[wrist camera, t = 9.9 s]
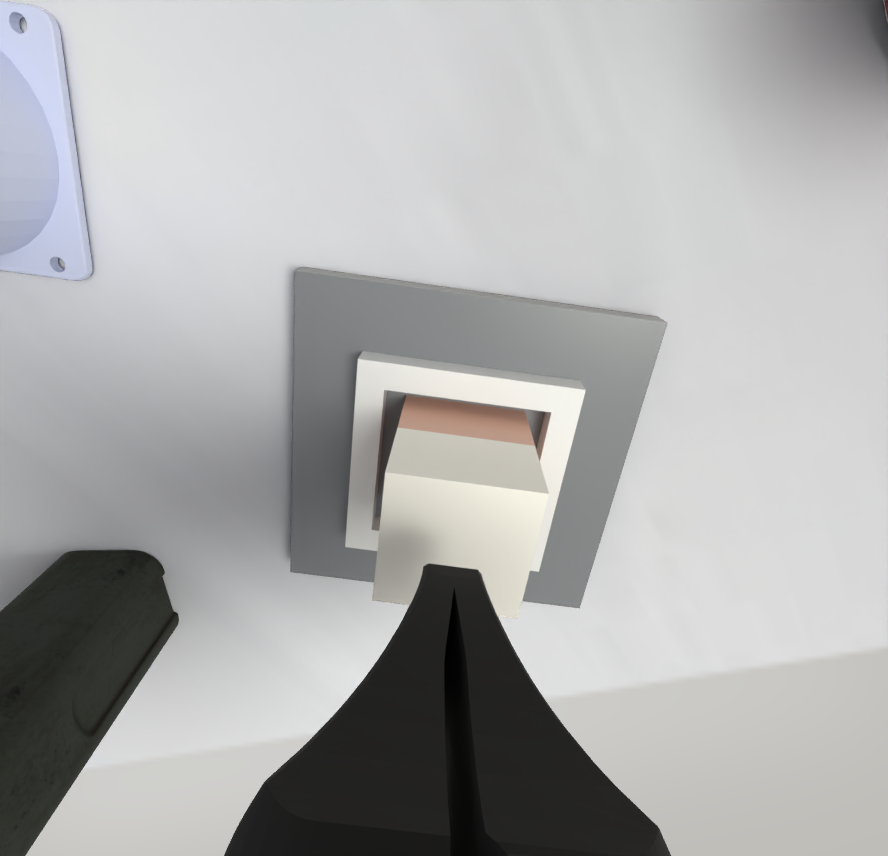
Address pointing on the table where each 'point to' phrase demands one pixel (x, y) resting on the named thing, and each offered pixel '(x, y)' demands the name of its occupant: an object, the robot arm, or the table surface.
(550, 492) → the baseplate
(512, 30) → the table surface
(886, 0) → the soda can
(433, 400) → the brick stack
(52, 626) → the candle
